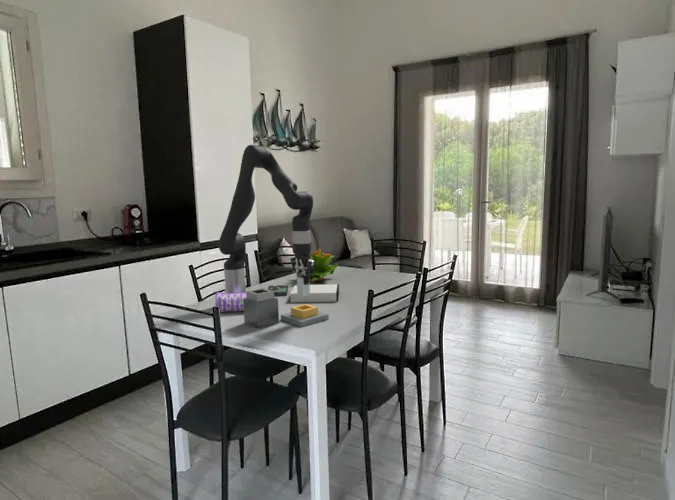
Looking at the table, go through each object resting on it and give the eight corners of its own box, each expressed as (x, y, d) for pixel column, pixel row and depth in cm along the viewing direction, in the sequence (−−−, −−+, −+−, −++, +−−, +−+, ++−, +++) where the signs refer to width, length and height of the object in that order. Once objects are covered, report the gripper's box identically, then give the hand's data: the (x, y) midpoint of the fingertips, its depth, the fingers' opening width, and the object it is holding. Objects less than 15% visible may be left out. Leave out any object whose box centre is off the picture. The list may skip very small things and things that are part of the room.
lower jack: (280, 319, 187) (280, 307, 186) (307, 312, 196) (307, 301, 195) (301, 326, 177) (300, 314, 176) (328, 319, 186) (328, 307, 185)
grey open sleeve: (244, 322, 184) (242, 291, 182) (265, 317, 190) (263, 287, 188) (257, 328, 176) (255, 295, 174) (279, 322, 183) (277, 291, 181)
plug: (297, 294, 185) (296, 273, 184) (304, 293, 187) (303, 271, 186) (302, 296, 182) (302, 274, 181) (309, 294, 185) (309, 272, 183)
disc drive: (338, 302, 213) (338, 292, 212) (290, 303, 213) (290, 293, 213) (339, 293, 230) (339, 283, 229) (295, 294, 231) (294, 284, 230)
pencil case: (265, 305, 209) (263, 285, 207) (266, 311, 200) (265, 290, 198) (215, 310, 204) (214, 289, 203) (214, 315, 195) (213, 294, 194)
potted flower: (286, 282, 255) (285, 252, 252) (301, 274, 277) (300, 246, 275) (328, 284, 248) (327, 253, 245) (340, 275, 270) (340, 246, 267)
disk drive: (268, 290, 240) (266, 297, 225) (268, 285, 240) (266, 291, 225) (288, 289, 241) (287, 296, 226) (288, 284, 241) (287, 290, 226)
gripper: (283, 241, 184) (285, 282, 187) (305, 244, 174) (306, 288, 176) (298, 239, 189) (300, 279, 192) (320, 242, 179) (321, 284, 181)
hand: (303, 283), depth 184 cm, fingers closed on plug, 3 cm apart
